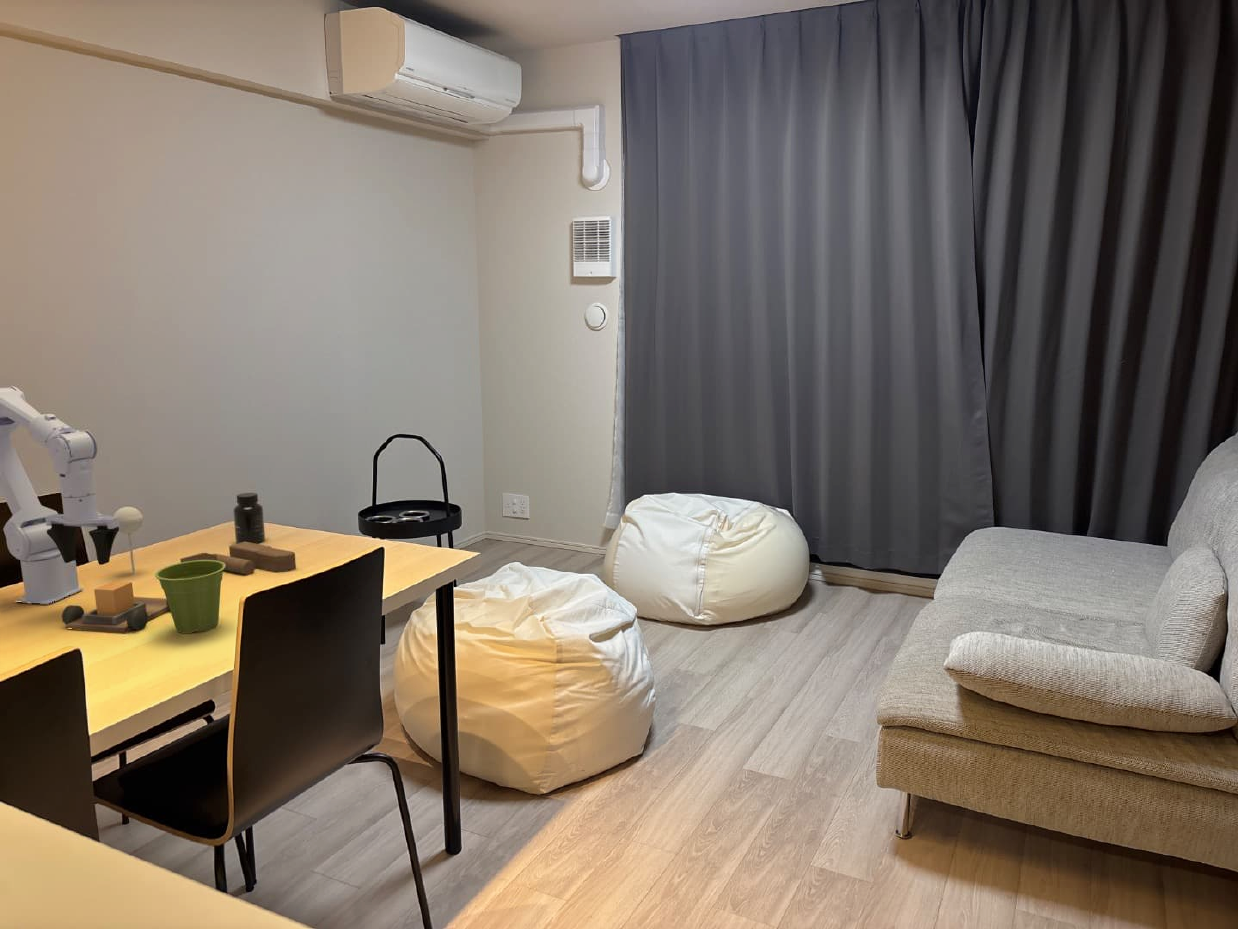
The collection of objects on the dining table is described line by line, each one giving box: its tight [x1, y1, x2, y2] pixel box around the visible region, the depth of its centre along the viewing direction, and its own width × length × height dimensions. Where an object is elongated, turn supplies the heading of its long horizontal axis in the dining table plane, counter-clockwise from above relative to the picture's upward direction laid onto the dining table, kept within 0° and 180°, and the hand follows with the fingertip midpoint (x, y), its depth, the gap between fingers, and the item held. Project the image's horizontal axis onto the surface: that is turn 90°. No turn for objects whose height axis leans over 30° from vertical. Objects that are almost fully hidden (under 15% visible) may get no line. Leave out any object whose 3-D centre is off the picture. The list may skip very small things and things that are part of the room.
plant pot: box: [154, 560, 226, 634], centre depth 170 cm, size 12×12×11 cm
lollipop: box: [113, 506, 144, 574], centre depth 204 cm, size 6×6×15 cm
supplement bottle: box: [232, 492, 266, 544], centre depth 229 cm, size 7×7×12 cm
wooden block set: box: [180, 542, 297, 576], centre depth 204 cm, size 17×6×18 cm
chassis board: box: [61, 596, 170, 634], centre depth 177 cm, size 16×15×4 cm
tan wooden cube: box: [94, 580, 135, 616], centre depth 174 cm, size 5×4×6 cm
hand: (87, 562), depth 180 cm, fingers open, 7 cm apart
